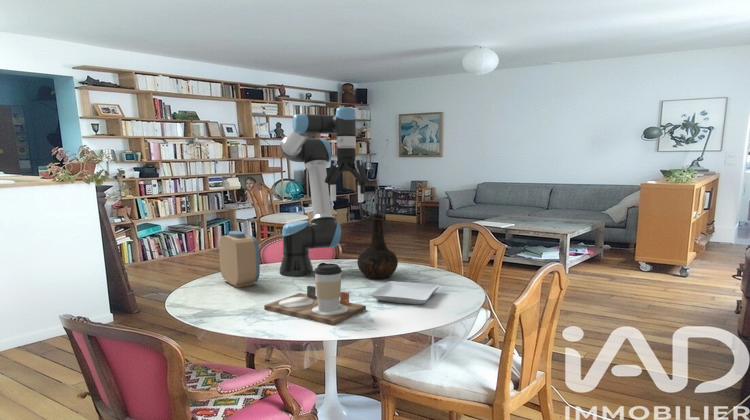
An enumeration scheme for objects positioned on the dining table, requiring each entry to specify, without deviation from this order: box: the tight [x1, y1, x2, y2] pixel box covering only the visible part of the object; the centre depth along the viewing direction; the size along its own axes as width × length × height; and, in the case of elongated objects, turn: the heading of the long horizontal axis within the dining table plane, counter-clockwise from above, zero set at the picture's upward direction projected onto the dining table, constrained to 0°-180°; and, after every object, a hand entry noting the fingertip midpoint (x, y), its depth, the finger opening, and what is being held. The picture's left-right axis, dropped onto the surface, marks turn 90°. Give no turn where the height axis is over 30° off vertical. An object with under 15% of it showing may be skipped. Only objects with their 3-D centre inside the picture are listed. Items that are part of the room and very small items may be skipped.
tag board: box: [263, 285, 367, 326], centre depth 161 cm, size 30×18×6 cm, turn 57°
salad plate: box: [370, 280, 440, 305], centre depth 176 cm, size 21×21×3 cm
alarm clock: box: [218, 230, 261, 288], centre depth 197 cm, size 21×10×22 cm, turn 37°
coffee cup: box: [313, 262, 343, 312], centre depth 156 cm, size 9×9×15 cm
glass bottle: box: [357, 213, 399, 280], centre depth 207 cm, size 18×18×28 cm
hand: (346, 201), depth 188 cm, fingers open, 13 cm apart
